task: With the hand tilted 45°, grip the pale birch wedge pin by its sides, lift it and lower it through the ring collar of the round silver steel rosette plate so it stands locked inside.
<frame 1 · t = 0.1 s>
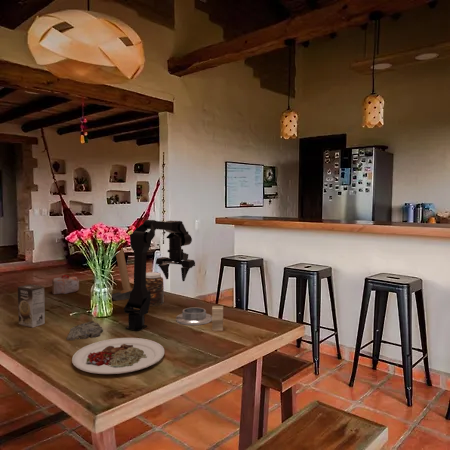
hand: (175, 280, 192), 15 cm above the table, tool pointing down, fingers open, 9 cm apart
hammer: (127, 298, 216), on the table
plated food: (119, 359, 137), on the table
food item: (65, 292, 227), on the table
wedge pin: (217, 328, 167), on the table
coffee box: (31, 324, 172), on the table
jar: (152, 303, 206), on the table
steel rosette: (194, 319, 180), on the table
stone slab: (84, 333, 162), on the table
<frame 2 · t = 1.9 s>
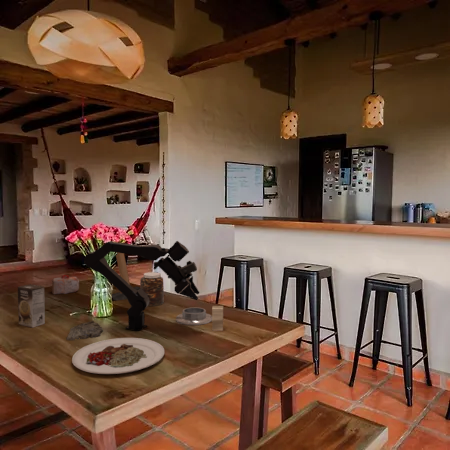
hand: (198, 296, 167), 13 cm above the table, tool tilted 45°, fingers open, 9 cm apart
nothing on the table moved.
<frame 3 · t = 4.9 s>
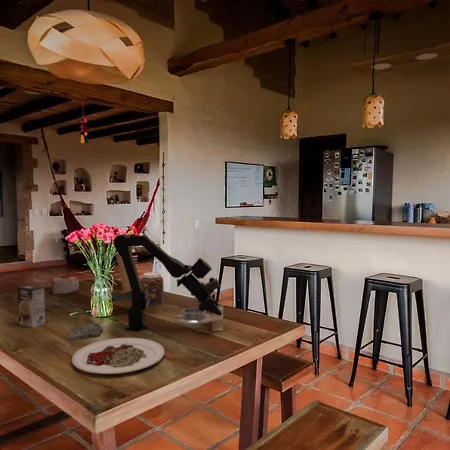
hand: (221, 313, 167), 7 cm above the table, tool tilted 45°, fingers closed on wedge pin, 4 cm apart
wedge pin: (217, 328, 167), on the table, touching gripper
everything else where it was.
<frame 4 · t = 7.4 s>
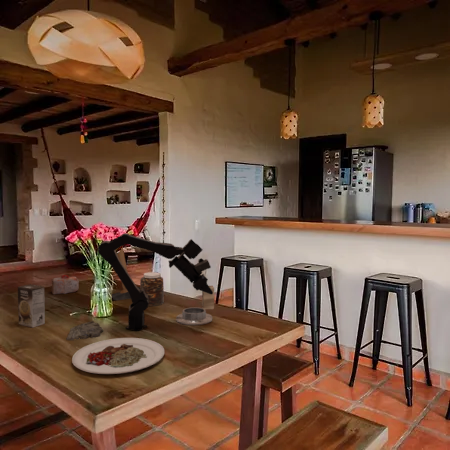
hand: (211, 292, 173), 14 cm above the table, tool tilted 45°, fingers closed on wedge pin, 4 cm apart
wedge pin: (207, 307, 173), point 7 cm above the table, touching gripper
everything else where it was.
when the fingers open (9 cm above the table, at t = 9.8 s): wedge pin drops 1 cm, resting on steel rosette.
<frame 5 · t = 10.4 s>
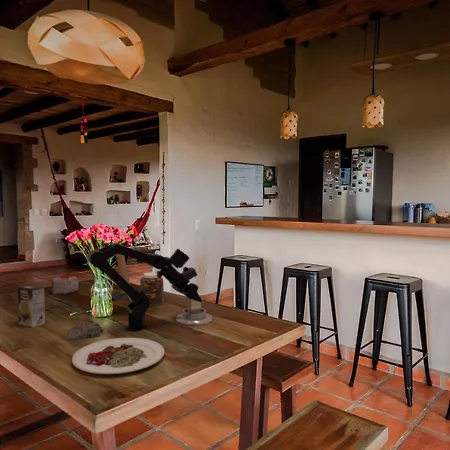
hand: (197, 298, 179), 9 cm above the table, tool tilted 45°, fingers open, 9 cm apart
wedge pin: (194, 317, 180), point 1 cm above the table, touching steel rosette
everything else where it was.
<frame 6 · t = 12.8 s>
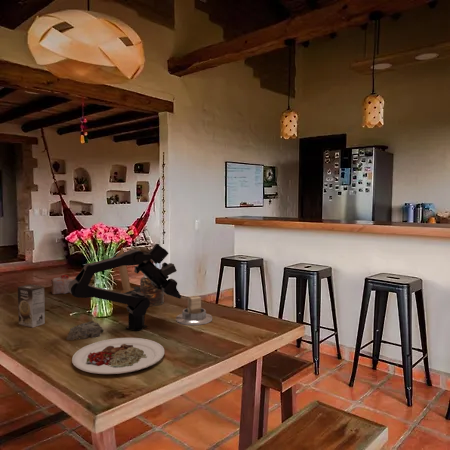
hand: (176, 295, 175), 12 cm above the table, tool tilted 45°, fingers open, 9 cm apart
nothing on the table moved.
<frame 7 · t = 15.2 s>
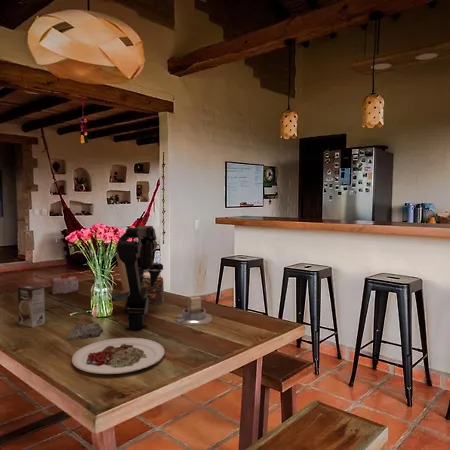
hand: (146, 288, 182), 13 cm above the table, tool pointing down, fingers open, 9 cm apart
nothing on the table moved.
at the end: wedge pin 0.1 cm off-centre on the steel rosette, point 1.0 cm above the steel rosette's base; wedge pin tilted 0°; the gripper is holding nothing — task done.
